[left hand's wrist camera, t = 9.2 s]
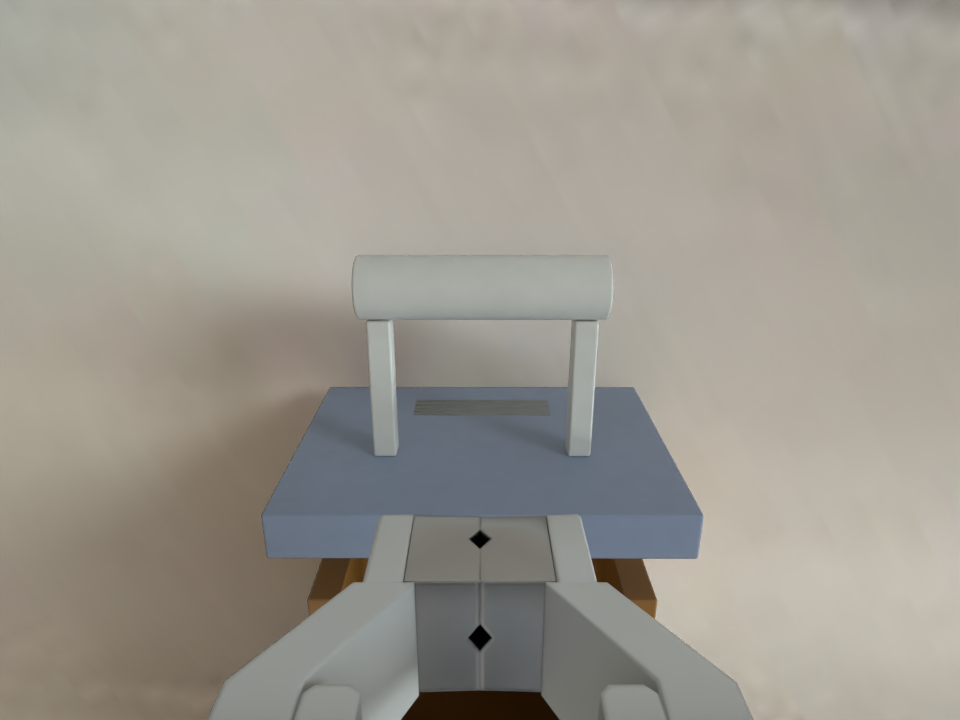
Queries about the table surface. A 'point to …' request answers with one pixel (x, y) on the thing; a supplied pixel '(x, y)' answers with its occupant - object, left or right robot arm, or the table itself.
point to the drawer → (483, 444)
